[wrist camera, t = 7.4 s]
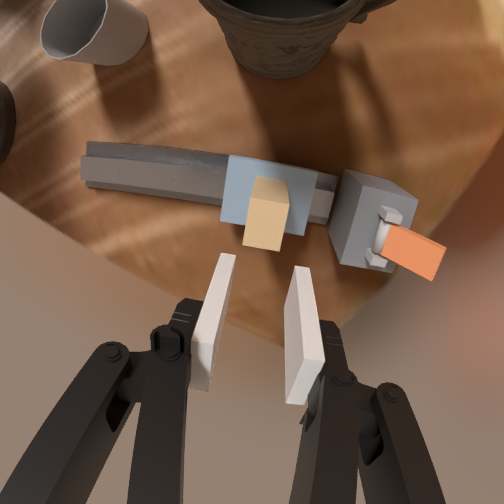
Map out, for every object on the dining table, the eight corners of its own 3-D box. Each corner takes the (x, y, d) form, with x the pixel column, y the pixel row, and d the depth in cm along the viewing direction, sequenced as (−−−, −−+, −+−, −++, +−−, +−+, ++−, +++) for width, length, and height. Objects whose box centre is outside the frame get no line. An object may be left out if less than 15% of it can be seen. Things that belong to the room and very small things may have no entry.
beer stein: (246, 97, 30) (235, 66, 12) (205, 20, 26) (152, -73, 8) (370, 54, 27) (479, 10, 9) (329, -21, 23) (390, -114, 5)
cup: (120, 77, 29) (72, 72, 20) (79, 50, 27) (28, 43, 18) (162, 21, 26) (124, -4, 17) (116, -3, 24) (73, -25, 15)
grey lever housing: (327, 232, 36) (343, 274, 27) (344, 168, 33) (369, 191, 24) (372, 241, 36) (399, 283, 27) (390, 180, 33) (427, 207, 24)
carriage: (224, 210, 35) (204, 254, 25) (233, 151, 32) (213, 171, 22) (301, 224, 36) (310, 273, 25) (314, 166, 32) (332, 193, 22)
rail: (87, 185, 36) (77, 190, 33) (88, 141, 33) (78, 144, 31) (326, 223, 36) (329, 231, 34) (338, 175, 33) (342, 180, 31)
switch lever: (369, 249, 27) (431, 281, 23) (378, 219, 26) (444, 251, 22) (374, 246, 28) (434, 276, 24) (384, 217, 27) (446, 247, 23)
